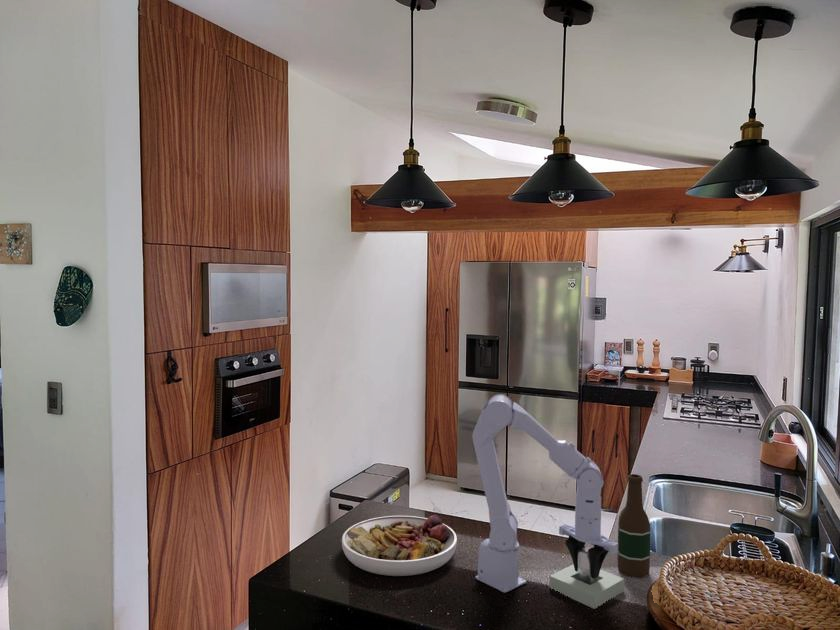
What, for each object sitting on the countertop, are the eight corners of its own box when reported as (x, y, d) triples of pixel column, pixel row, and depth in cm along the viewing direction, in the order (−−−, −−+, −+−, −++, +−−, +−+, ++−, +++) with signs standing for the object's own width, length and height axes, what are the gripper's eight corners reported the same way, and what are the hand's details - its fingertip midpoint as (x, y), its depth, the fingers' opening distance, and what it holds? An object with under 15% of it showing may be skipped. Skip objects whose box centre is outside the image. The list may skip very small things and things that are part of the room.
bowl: (389, 594, 140) (389, 561, 139) (319, 551, 162) (319, 522, 162) (480, 558, 159) (480, 528, 159) (407, 524, 182) (407, 498, 182)
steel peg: (573, 583, 142) (574, 550, 142) (584, 578, 145) (584, 545, 144) (588, 590, 139) (588, 556, 139) (598, 584, 142) (598, 550, 141)
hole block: (549, 588, 143) (549, 575, 142) (579, 573, 150) (579, 561, 150) (594, 608, 134) (594, 595, 133) (623, 591, 141) (624, 578, 141)
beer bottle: (653, 569, 153) (655, 474, 152) (645, 581, 146) (647, 482, 145) (621, 561, 157) (623, 469, 156) (612, 573, 151) (614, 476, 150)
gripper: (625, 520, 138) (624, 579, 139) (571, 503, 149) (570, 558, 150) (608, 528, 134) (607, 589, 134) (554, 509, 145) (553, 566, 145)
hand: (586, 573), depth 142 cm, fingers closed on steel peg, 4 cm apart
